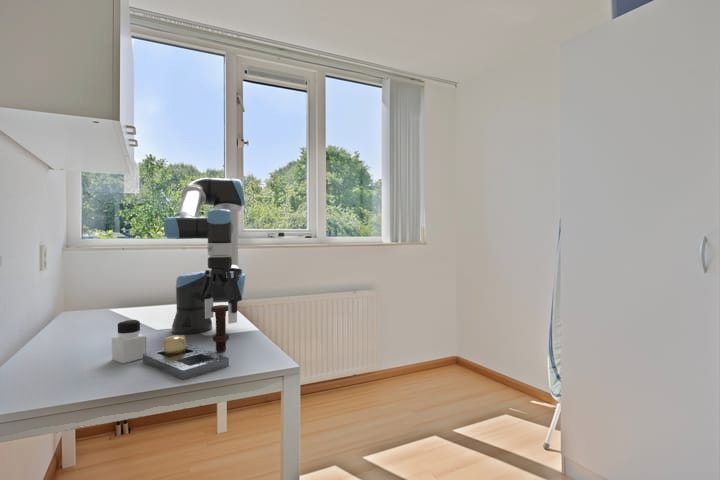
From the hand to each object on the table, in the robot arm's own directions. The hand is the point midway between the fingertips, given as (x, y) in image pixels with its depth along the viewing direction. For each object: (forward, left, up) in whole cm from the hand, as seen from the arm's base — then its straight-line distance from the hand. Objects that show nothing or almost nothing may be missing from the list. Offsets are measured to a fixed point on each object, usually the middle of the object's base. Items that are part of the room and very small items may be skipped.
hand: (220, 320), depth 132 cm
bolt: (0, 0, -11) cm, 11 cm away
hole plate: (+3, -14, -10) cm, 17 cm away
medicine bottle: (-16, -22, -11) cm, 29 cm away
